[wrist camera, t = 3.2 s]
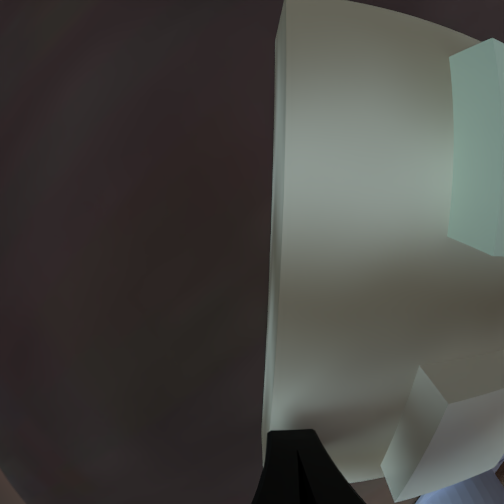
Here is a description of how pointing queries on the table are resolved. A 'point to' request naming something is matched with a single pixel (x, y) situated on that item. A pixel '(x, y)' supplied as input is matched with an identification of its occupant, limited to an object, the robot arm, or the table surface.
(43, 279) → the table surface
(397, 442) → the tile cream
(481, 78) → the tile sage
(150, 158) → the table surface
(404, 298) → the bench board
